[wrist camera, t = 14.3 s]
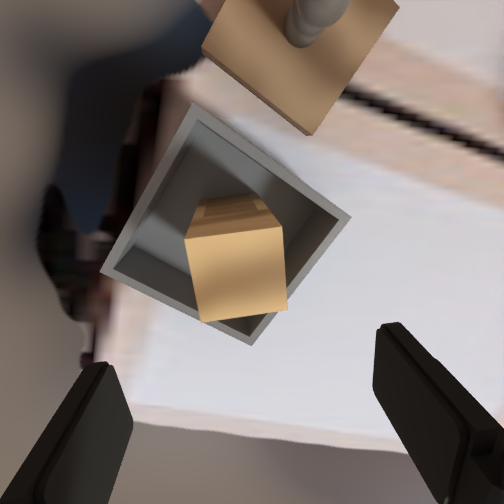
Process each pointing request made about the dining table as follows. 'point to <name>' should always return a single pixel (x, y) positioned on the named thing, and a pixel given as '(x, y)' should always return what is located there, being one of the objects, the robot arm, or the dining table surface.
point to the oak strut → (236, 258)
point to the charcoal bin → (206, 187)
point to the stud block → (296, 50)
